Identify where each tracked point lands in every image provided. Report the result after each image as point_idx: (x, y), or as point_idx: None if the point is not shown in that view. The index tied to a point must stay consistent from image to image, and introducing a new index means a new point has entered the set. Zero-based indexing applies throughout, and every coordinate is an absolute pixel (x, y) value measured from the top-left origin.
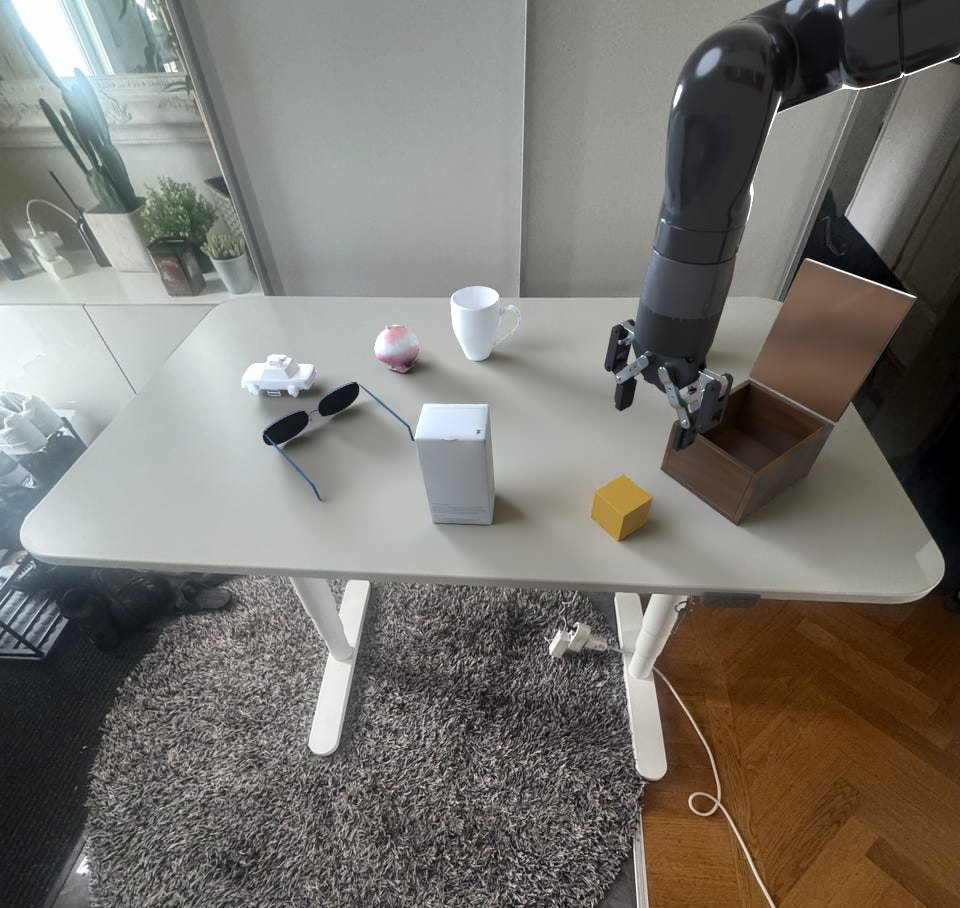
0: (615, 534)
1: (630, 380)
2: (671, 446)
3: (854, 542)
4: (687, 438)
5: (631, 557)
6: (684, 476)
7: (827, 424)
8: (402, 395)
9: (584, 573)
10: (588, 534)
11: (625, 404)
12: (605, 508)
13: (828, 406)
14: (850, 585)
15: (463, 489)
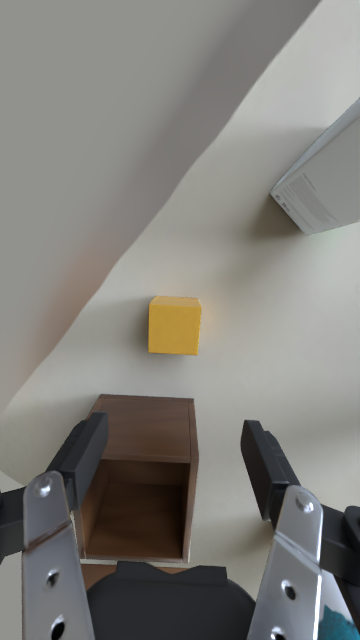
0: (159, 297)
1: (274, 513)
2: (104, 413)
3: (36, 445)
4: (61, 448)
5: (133, 291)
6: (164, 405)
7: (84, 555)
8: None
9: (147, 236)
10: (182, 278)
11: (246, 440)
12: (179, 303)
13: (85, 585)
14: (9, 408)
15: (345, 114)
